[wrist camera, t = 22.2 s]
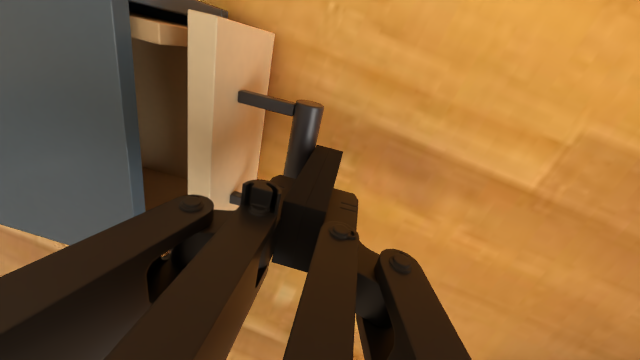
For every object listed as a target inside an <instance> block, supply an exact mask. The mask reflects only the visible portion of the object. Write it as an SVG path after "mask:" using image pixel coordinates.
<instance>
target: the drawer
mask: <svg viewBox="0 0 640 360" xmlns="http://www.w3.org/2000/svg"><path fill="white" fill-rule="evenodd" d="M129 16H130V28H131V40H132V52H133V64H134V76H135V88H136V101H137V113H138V125H139V137H140V149H141V161H142V174H143V186H144V198H145V210H146V211H148V210H150V209H152V208H155V207H157V206H159V205H161V204H163V203H166V202H168V201H170V200H172V199H175V198H177V197H180V196H183V195H191V194H195V195H202V196H205V197H208V198H209V199H211V200H212V201H213V203H214V209H215V210H236V209H237V208H238V207H239V206H240V204H241V194H242V185H243V183H245V182H247V181H250V180H257V173H258V165H259V157H260V149H261V141H262V133H263V125H264V117H265V110H269V111H273V112H277V113H281V114H285V115H288V116H293V115H294V116H293V122H292V128H291V133H290V139H289V145H288V151H287V157H286V162H285V168H284V174H283V175H284V176H287V177H291V178H295V179H297V177H298V175H299V174H300V172H301V170H302V169H303V167H304V166H305V164H306V162H307V161H308V159H309V157H310V156H311V154H312V152H313V151H314V149H315V146H316V142H317V137H318V133H319V128H320V124H321V119H322V115H323V110H324V106H322V105H321V104H319V103H316V102H312V101H307V100H297V101H296V103H294V102H290V101H286V100H282V99H278V98H274V97H271V96H267V94H268V86H269V78H270V70H271V62H272V54H273V46H274V38H275V33H272V32H269V31H265V30H262V29H259V28H256V27H252V26H249V25H246V24H243V23H239V22H236V21H233V20H229V19H226V18H223V17H220V16H216V15H212V14H208V13H204V12H199V11H195V10H191V9H188V25H184V24H180V23H175V22H171V21H167V20H163V19H159V18H155V17H151V16H147V15H142V14H138V13H134V12H130V11H129Z"/></svg>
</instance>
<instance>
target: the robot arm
mask: <svg viewBox="0 0 640 360" xmlns="http://www.w3.org/2000/svg"><path fill="white" fill-rule="evenodd" d="M342 154H343V152H342V151H339V150H335V149H331V148H327V147H323V146H320V145H317V146H316V148H315V149H314V151H313V152H312V154H311V156H310V157H309V159H308V161H307V162H306V164H305V166H304V167H303V169H302V170H301V172H300V174H299V175H298V177H297V179H295V178H291V177H287V176H284V175H278V176H276V177H273V178H272V179H271V180H270V181H266V180H250V181H247V182H245V183H243V185H242V194H241V204H240V206H239V207H238V208H237V209H236V210H215V209H214V203H213V201H212V200H211V199H209V198H208V197H205V196H202V195H195V194H191V195H183V196H180V197H177V198H175V199H172V200H170V201H168V202H166V203H163V204H161V205H159V206H157V207H155V208H152V209H150V210H148V211H146V212H143V213H141V214H139V215H137V216H135V217H132V218H130V219H128V220H126V221H124V222H121V223H119V224H117V225H115V226H112V227H110V228H108V229H106V230H104V231H101V232H99V233H97V234H95V235H93V236H90V237H88V238H86V239H84V240H81V241H79V242H77V243H75V244H73V245H70V246H68V247H66V248H64V249H62V250H59V251H57V252H55V253H53V254H50V255H48V256H46V257H44V258H42V259H39V260H37V261H35V262H33V263H31V264H28V265H26V266H24V267H22V268H19V269H17V270H15V271H13V272H11V273H8V274H6V275H4V276H2V277H0V360H226V358H227V356H228V354H229V352H230V350H231V348H232V346H233V343H234V341H235V339H236V337H237V335H238V333H239V331H240V329H241V327H242V324H243V322H244V320H245V318H246V316H247V314H248V312H249V310H250V308H251V306H252V303H253V301H254V299H255V297H256V295H257V293H258V291H259V289H260V287H261V284H262V282H263V280H264V278H265V276H266V274H267V271H268V266H269V261H270V259H271V257H272V255H273V258H272V262H274V263H277V264H280V265H284V266H287V267H291V268H294V269H297V270H301V271H304V272H308V274H307V277H306V281H305V284H304V288H303V291H302V295H301V298H300V302H299V305H298V308H297V312H296V315H295V319H294V322H293V326H292V329H291V333H290V336H289V340H288V343H287V347H286V350H285V353H284V357H283V360H353V346H354V327H355V313H356V320H357V325H358V330H359V335H360V340H361V344H362V349H363V354H364V359H365V360H471V358H470V356H469V354H468V352H467V350H466V349H465V347H464V345H463V343H462V341H461V339H460V338H459V336H458V334H457V332H456V330H455V329H454V327H453V325H452V323H451V321H450V319H449V318H448V316H447V314H446V312H445V310H444V308H443V307H442V305H441V303H440V301H439V299H438V298H437V296H436V294H435V292H434V290H433V288H432V287H431V285H430V283H429V281H428V279H427V277H426V276H425V274H424V272H423V270H422V268H421V266H420V265H419V264H418V262H417V261H416V260H415V259H414V258H412V257H411V256H410V255H408V254H407V253H404V252H402V251H400V250H396V249H386V250H384V251H382V252H381V254H380V255H379V254H377V253H375V252H373V251H371V250H370V249H368V248H366V247H365V246H364V245H363V244H362V243H361V242H360V241H359V235H358V233H357V232H356V227H357V212H358V199H357V198H356V196H355V194H353V193H349V192H345V191H342V190H338V189H334V188H333V187H334V184H335V180H336V176H337V173H338V169H339V165H340V162H341V158H342ZM169 250H170V253H169V254H168V255H166V256H164V257H161V255H162V254H164V253H166V252H167V251H169Z"/></svg>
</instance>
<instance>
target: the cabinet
mask: <svg viewBox="0 0 640 360" xmlns="http://www.w3.org/2000/svg"><path fill="white" fill-rule="evenodd" d="M188 9H191V10H195V11H199V12H204V13H208V14H212V15H216V16H220V17H223V18H226V19H228V12H227V11H225V10H222V9H220V8H217V7H214V6H211V5H208V4H206V3H203V2H200V1H197V0H0V224H1V225H5V226H8V227H11V228H14V229H18V230H21V231H24V232H28V233H31V234H34V235H37V236H41V237H44V238H47V239H51V240H54V241H57V242H60V243H64V244H67V245H73V244H75V243H77V242H79V241H81V240H84V239H86V238H88V237H90V236H93V235H95V234H97V233H99V232H101V231H104V230H106V229H108V228H110V227H112V226H115V225H117V224H119V223H121V222H124V221H126V220H128V219H130V218H132V217H135V216H137V215H139V214H141V213H143V212H146V210H145V198H144V186H143V174H142V161H141V149H140V137H139V125H138V113H137V101H136V88H135V76H134V64H133V52H132V40H131V28H130V16H129V11H130V12H134V13H138V14H142V15H147V16H151V17H155V18H159V19H163V20H167V21H171V22H175V23H180V24H184V25H188Z"/></svg>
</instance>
